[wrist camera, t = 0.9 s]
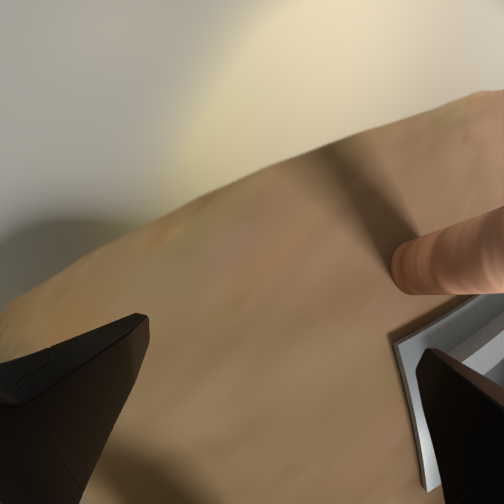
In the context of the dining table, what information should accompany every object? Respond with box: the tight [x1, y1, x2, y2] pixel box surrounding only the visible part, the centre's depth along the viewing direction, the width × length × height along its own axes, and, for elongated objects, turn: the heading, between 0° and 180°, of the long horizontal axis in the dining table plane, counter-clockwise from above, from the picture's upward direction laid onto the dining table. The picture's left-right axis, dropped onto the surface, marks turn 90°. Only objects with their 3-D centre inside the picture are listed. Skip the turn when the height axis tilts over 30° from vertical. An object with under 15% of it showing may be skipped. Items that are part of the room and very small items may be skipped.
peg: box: [391, 206, 504, 295], centre depth 16 cm, size 4×4×13 cm
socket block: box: [393, 293, 504, 492], centre depth 20 cm, size 18×18×4 cm
